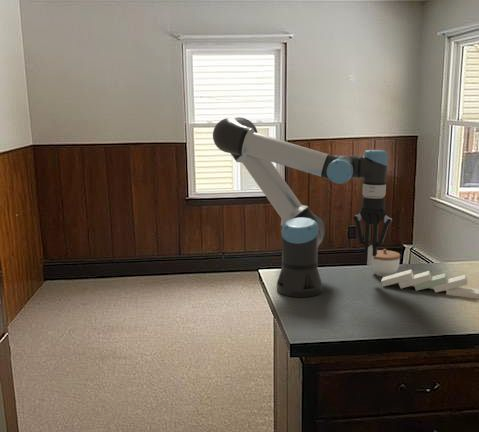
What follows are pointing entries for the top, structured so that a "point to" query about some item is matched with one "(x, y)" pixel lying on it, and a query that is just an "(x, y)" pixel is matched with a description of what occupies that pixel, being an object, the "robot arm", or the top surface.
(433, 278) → the tile
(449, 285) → the tile
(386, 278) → the tile
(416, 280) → the tile
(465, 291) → the tile
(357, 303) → the top surface
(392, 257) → the lidded jar
